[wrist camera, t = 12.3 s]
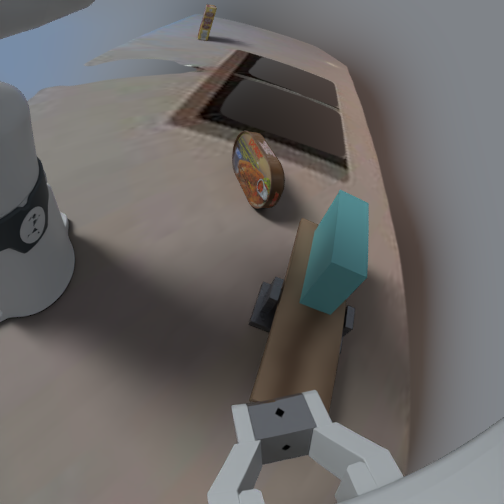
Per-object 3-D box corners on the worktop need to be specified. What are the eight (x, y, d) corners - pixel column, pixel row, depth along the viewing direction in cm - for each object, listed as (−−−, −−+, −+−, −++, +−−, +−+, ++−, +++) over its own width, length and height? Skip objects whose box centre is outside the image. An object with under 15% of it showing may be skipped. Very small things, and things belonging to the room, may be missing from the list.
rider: (299, 302, 35) (331, 262, 29) (314, 231, 43) (340, 189, 37) (330, 314, 35) (367, 277, 29) (340, 243, 43) (368, 203, 37)
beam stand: (248, 324, 37) (259, 306, 34) (278, 233, 48) (289, 212, 44) (336, 356, 37) (356, 341, 34) (348, 263, 48) (363, 244, 44)
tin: (228, 159, 56) (239, 121, 50) (244, 159, 57) (256, 121, 51) (256, 220, 48) (273, 178, 42) (274, 218, 50) (293, 178, 43)
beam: (244, 401, 29) (249, 398, 27) (295, 226, 46) (300, 217, 44) (319, 423, 29) (328, 420, 27) (346, 248, 46) (353, 240, 44)
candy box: (208, 41, 104) (216, 8, 93) (197, 39, 103) (206, 6, 91) (207, 36, 109) (216, 5, 98) (197, 35, 108) (205, 3, 97)
